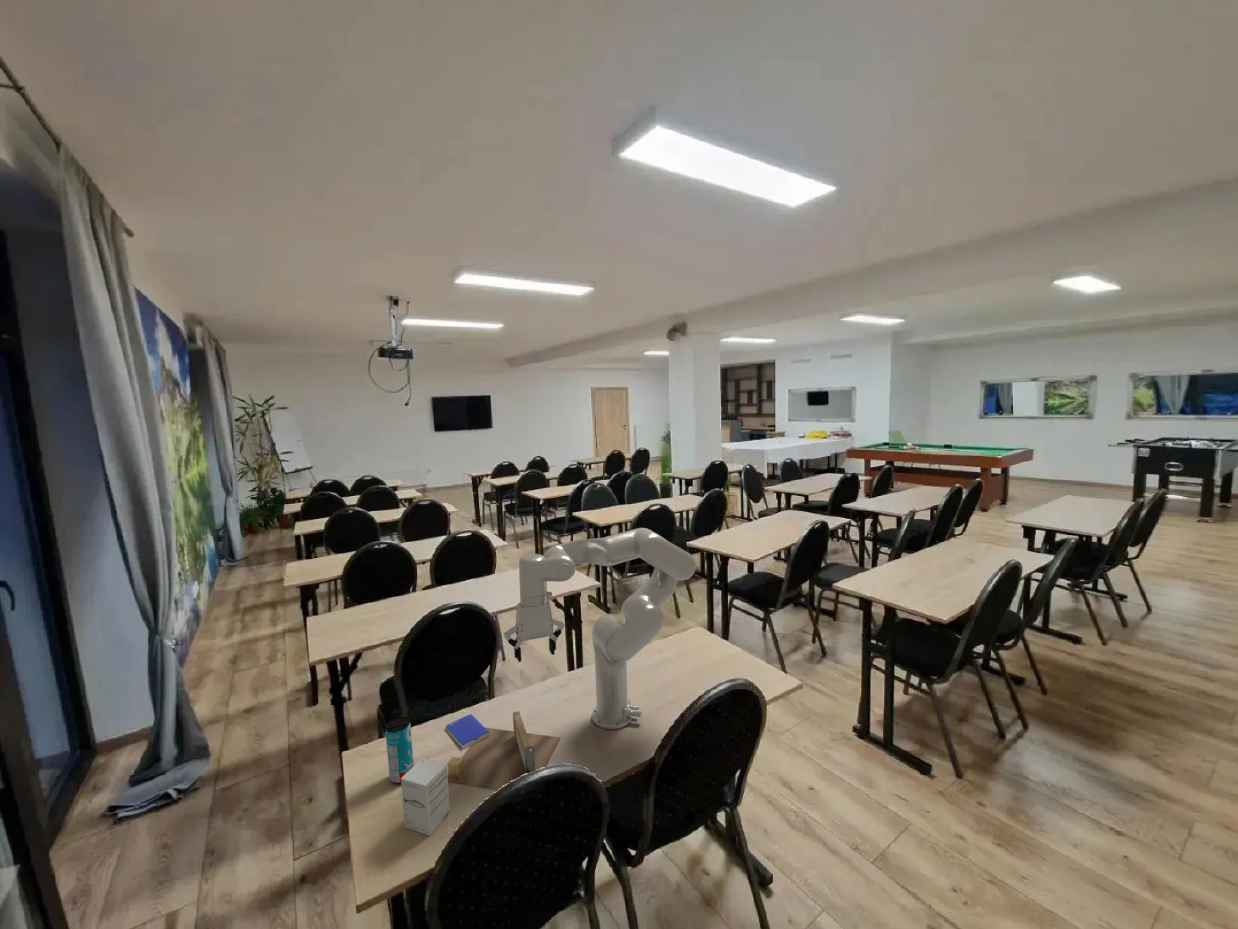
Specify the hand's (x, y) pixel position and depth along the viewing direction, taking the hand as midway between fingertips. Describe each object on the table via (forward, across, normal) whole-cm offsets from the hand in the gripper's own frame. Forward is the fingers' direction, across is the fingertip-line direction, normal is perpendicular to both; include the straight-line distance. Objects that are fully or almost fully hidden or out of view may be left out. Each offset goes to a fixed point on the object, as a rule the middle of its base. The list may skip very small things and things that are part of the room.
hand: (535, 656), depth 144 cm
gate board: (+24, +11, +6) cm, 27 cm away
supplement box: (+25, +31, +18) cm, 44 cm away
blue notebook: (+24, +19, -10) cm, 32 cm away
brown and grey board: (+23, +6, +7) cm, 25 cm away
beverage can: (+25, +36, +1) cm, 44 cm away
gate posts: (+24, +15, +12) cm, 31 cm away
